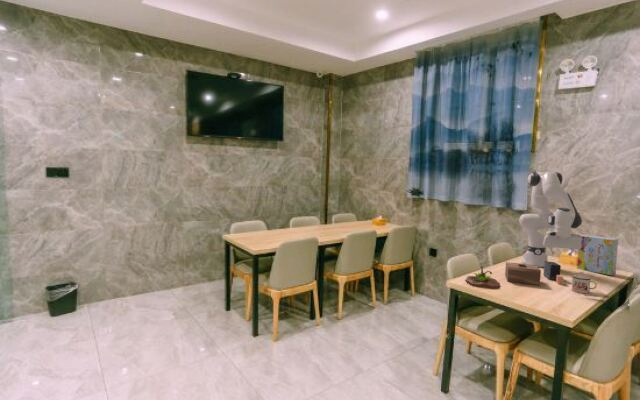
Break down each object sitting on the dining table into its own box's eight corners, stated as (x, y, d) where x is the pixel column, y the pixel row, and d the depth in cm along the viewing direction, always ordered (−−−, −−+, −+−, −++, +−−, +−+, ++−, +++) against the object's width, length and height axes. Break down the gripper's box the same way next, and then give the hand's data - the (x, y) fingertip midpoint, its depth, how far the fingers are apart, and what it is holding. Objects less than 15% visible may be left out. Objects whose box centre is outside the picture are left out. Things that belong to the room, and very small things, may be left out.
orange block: (556, 282, 231) (556, 274, 231) (560, 282, 231) (561, 275, 230) (558, 284, 227) (558, 276, 226) (562, 284, 226) (563, 277, 226)
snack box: (616, 274, 254) (619, 238, 253) (611, 276, 250) (614, 240, 248) (580, 267, 272) (583, 234, 271) (576, 269, 267) (578, 235, 266)
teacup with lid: (570, 291, 213) (571, 272, 212) (572, 287, 220) (573, 269, 219) (595, 295, 205) (597, 276, 205) (596, 292, 212) (598, 273, 212)
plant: (496, 281, 231) (497, 264, 231) (502, 290, 213) (503, 272, 212) (463, 278, 237) (464, 261, 236) (466, 286, 218) (467, 268, 217)
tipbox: (505, 276, 242) (506, 262, 241) (535, 279, 235) (536, 265, 235) (507, 282, 229) (508, 266, 228) (539, 285, 222) (540, 270, 222)
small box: (560, 281, 235) (561, 265, 234) (549, 280, 236) (550, 264, 235) (553, 276, 245) (554, 261, 244) (542, 275, 246) (543, 260, 246)
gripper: (580, 234, 226) (579, 255, 226) (543, 231, 233) (541, 252, 234) (583, 235, 220) (582, 257, 221) (545, 232, 227) (544, 254, 228)
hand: (561, 254), depth 227 cm, fingers open, 8 cm apart
